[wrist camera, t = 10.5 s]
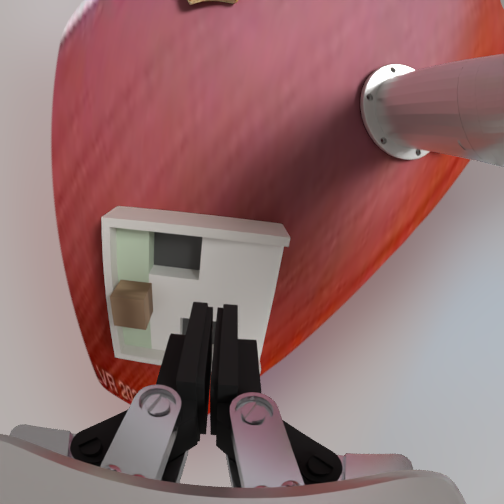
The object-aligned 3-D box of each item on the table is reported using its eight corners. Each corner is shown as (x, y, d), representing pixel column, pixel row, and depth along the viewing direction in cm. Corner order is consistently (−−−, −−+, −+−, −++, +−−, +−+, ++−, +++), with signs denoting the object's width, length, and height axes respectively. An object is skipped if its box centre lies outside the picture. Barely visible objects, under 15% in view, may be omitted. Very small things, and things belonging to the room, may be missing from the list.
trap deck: (282, 223, 34) (290, 237, 30) (256, 350, 42) (259, 374, 37) (117, 205, 32) (101, 217, 27) (124, 335, 39) (115, 357, 35)
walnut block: (151, 283, 33) (143, 300, 29) (153, 310, 34) (146, 330, 31) (120, 279, 32) (109, 296, 29) (123, 307, 34) (114, 325, 30)
